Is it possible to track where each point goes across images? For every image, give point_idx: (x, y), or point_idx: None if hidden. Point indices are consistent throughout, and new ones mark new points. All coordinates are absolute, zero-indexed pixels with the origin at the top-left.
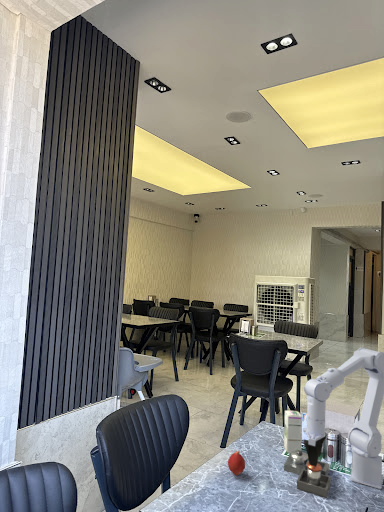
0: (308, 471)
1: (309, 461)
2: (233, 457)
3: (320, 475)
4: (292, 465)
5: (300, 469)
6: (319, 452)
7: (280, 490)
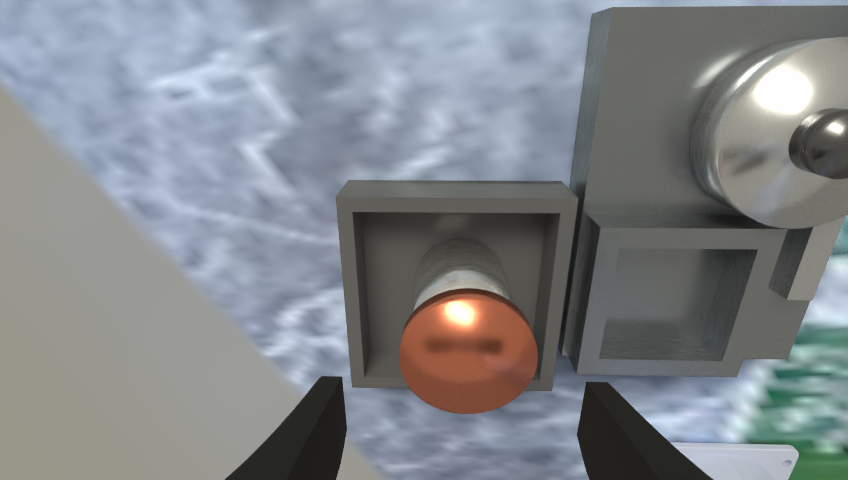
0: (430, 293)
1: (302, 401)
2: None
3: (544, 329)
4: (626, 95)
5: (586, 175)
6: (591, 472)
7: (247, 77)
